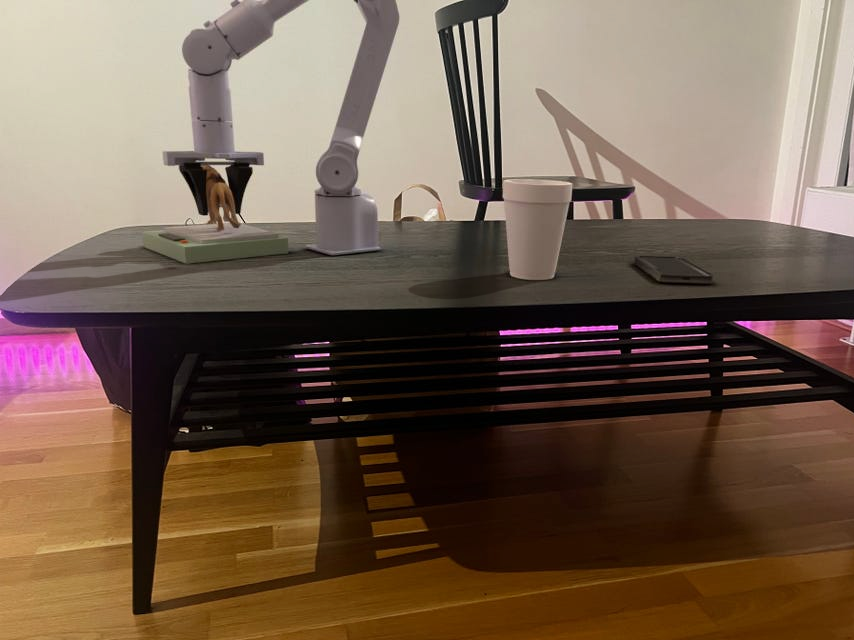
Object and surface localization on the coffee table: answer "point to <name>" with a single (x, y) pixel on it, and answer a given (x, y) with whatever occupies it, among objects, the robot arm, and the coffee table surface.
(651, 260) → the phone
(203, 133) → the robot arm
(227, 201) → the lion figurine
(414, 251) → the coffee table surface
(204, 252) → the kitchen scale
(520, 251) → the foam cup
